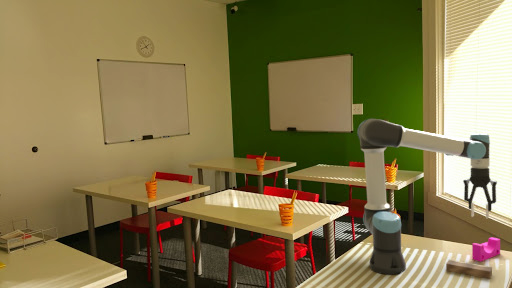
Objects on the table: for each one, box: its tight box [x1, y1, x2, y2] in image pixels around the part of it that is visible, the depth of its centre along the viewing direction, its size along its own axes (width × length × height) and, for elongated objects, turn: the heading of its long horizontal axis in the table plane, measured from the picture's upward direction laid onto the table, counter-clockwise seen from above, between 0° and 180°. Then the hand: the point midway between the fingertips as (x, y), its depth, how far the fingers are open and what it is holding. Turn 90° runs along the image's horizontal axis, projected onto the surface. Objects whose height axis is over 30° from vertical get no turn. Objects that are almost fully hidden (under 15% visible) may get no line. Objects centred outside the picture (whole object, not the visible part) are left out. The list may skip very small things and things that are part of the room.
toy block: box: [471, 236, 501, 263], centre depth 181 cm, size 15×6×8 cm, turn 120°
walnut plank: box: [445, 259, 493, 280], centre depth 165 cm, size 16×5×3 cm, turn 52°
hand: (479, 216), depth 186 cm, fingers open, 5 cm apart
